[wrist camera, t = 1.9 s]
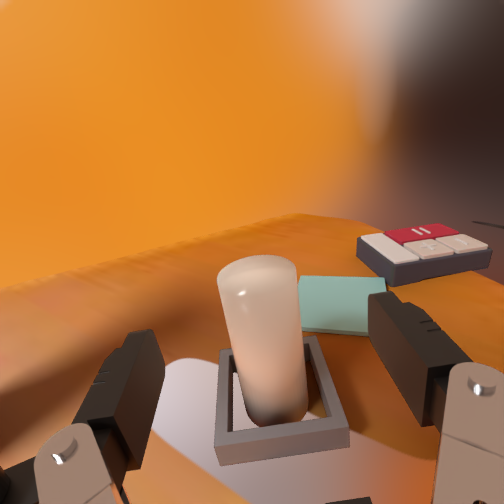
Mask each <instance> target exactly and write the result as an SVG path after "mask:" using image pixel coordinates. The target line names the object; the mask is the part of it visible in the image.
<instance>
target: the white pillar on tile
mask: <svg viewBox="0 0 504 504" xmlns="http://www.w3.org/2000/svg"><path fill="white" fill-rule="evenodd" d="M217 284H218V289H219V293H220V297H221V302H222V306H223V311H224V315H225V319H226V324H227V328H228V333H229V337H230V342H231V346H232V350H233V355H234V359H235V364H236V368H237V373H238V377H239V381H240V386H241V390H242V395H243V398H244V403H245V408H246V411H247V414H248V416H249V418H250V419H251V421H252V422H253V423H254V424H256V425H257V426H259V427H266V426H273V425H279V424H286V423H293V422H300V421H301V420H302V418H303V417H304V416H305V414H306V412H307V409H308V404H309V400H308V389H307V379H306V369H305V358H304V348H303V337H302V327H301V316H300V306H299V296H298V285H297V275H296V267H295V265H294V264H293V263H292V262H291V261H290V260H288V259H286V258H283V257H280V256H275V255H256V256H250V257H246V258H242V259H239V260H237V261H234V262H232V263H230V264H229V265H227V266H226V267H224V268H223V269H222V270H221V271H220V273H219V274H218V276H217Z"/></svg>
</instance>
